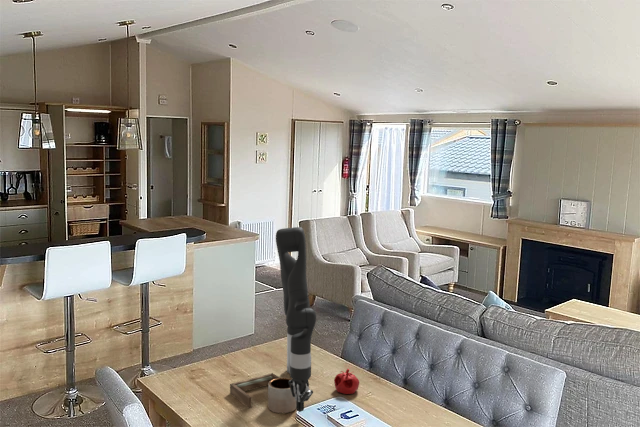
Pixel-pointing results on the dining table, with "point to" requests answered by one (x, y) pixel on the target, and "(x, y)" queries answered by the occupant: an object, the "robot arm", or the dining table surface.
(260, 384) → the bay
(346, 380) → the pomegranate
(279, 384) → the planter
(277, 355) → the dining table surface
